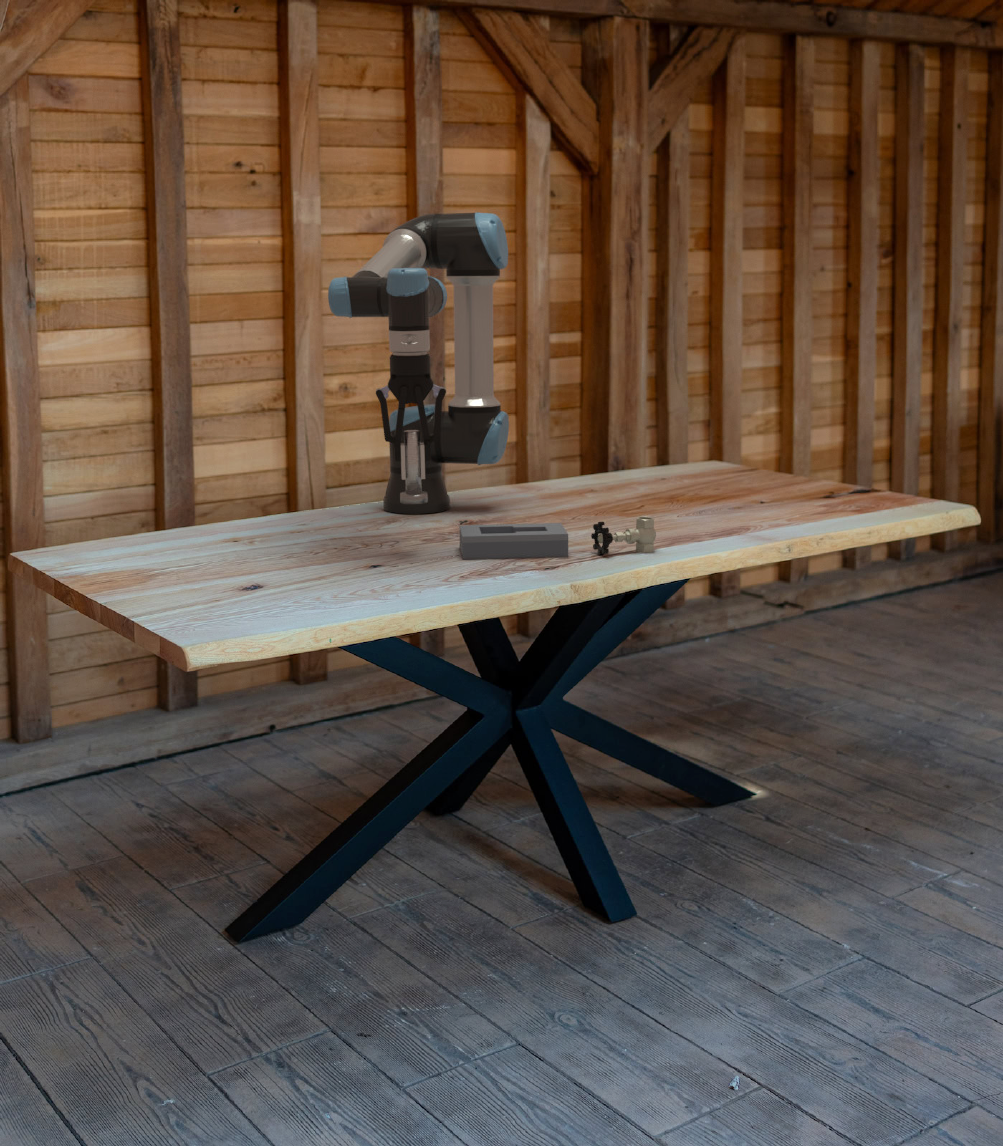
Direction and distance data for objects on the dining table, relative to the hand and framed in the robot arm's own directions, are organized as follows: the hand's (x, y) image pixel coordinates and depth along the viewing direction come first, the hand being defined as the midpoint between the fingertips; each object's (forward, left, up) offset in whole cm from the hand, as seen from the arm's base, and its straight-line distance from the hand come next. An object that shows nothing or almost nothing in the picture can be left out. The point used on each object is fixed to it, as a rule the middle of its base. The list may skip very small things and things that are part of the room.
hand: (413, 477), depth 256 cm
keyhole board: (+14, +13, -15) cm, 24 cm away
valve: (+32, +25, -15) cm, 43 cm away
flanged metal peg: (0, 0, -5) cm, 5 cm away
